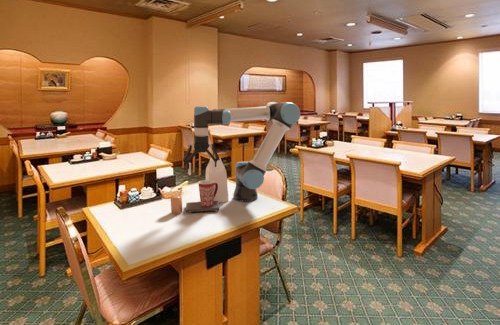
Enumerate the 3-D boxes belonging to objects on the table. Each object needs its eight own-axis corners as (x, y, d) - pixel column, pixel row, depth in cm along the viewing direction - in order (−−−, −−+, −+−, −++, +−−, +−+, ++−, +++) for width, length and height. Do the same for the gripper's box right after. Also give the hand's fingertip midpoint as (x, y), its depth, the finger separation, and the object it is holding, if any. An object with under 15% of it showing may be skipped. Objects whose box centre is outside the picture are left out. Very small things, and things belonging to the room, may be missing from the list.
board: (217, 204, 190) (217, 200, 190) (219, 211, 179) (219, 207, 178) (186, 206, 187) (186, 202, 187) (186, 213, 176) (185, 209, 175)
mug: (206, 208, 176) (205, 184, 174) (195, 205, 182) (194, 182, 180) (223, 203, 185) (222, 180, 183) (212, 200, 191) (212, 177, 189)
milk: (223, 195, 207) (222, 155, 202) (228, 201, 196) (227, 159, 191) (205, 197, 203) (203, 157, 198) (208, 203, 193) (207, 160, 187)
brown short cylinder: (182, 210, 181) (181, 195, 179) (182, 214, 175) (181, 198, 174) (171, 211, 180) (170, 195, 178) (171, 215, 174) (170, 199, 173)
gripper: (220, 134, 183) (220, 170, 187) (176, 135, 173) (177, 174, 177) (225, 135, 177) (225, 173, 181) (180, 136, 166) (180, 177, 170)
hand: (201, 173), depth 179 cm, fingers open, 13 cm apart
